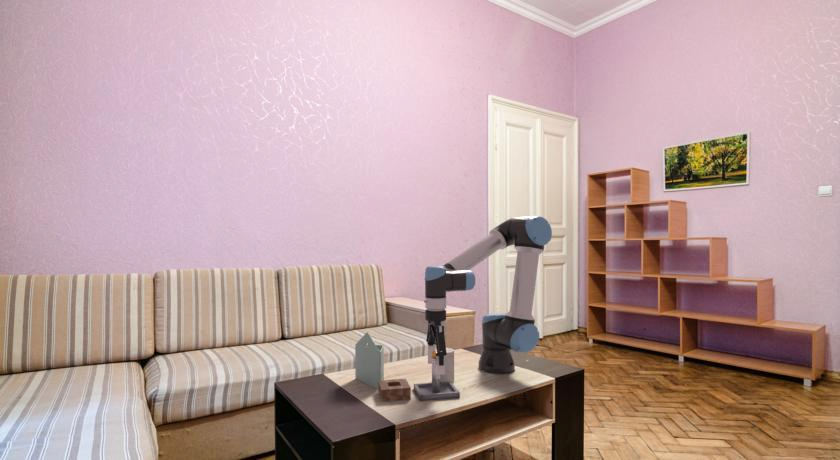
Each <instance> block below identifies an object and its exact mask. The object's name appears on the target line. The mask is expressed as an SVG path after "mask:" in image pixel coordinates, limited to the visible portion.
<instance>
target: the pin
mask: <svg viewBox="0 0 840 460" xmlns="http://www.w3.org/2000/svg"><path fill="white" fill-rule="evenodd" d="M436 354H437V351H433V352H432V364H431V383H432V392H433V393H439V392H440V375H437V356H435V355H436Z"/></svg>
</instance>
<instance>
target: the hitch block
mask: <svg viewBox="0 0 840 460" xmlns="http://www.w3.org/2000/svg"><path fill="white" fill-rule="evenodd" d="M377 390H378V394H379V397H380V401H381V402H382V403H383V402H394V401H396V402H397V401H407V400H408V401H409V400H411V398H412V397H411V395H412V394H411V392H412V391H411V390H412V389H411V386H410V384H409V382H408V380H407V378H396V379H395V378H394V379H384V380H379V381H378V389H377Z"/></svg>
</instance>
